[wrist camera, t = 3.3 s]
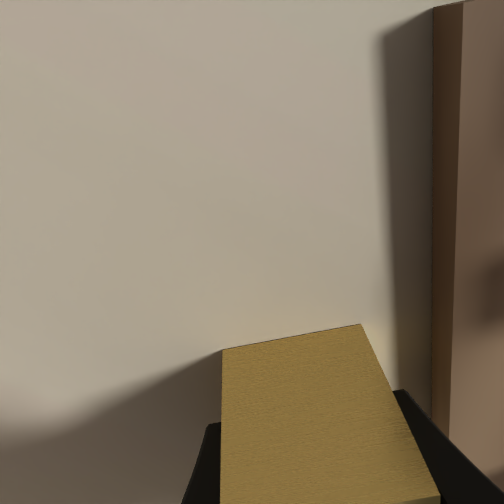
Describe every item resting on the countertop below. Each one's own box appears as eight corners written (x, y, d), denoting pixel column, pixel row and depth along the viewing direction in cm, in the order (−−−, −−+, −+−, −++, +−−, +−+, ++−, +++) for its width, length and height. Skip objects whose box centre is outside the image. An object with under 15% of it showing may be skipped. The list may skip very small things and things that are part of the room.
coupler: (361, 323, 12) (440, 495, 7) (370, 421, 14) (437, 605, 9) (222, 349, 12) (219, 532, 8) (249, 442, 14) (260, 634, 9)
